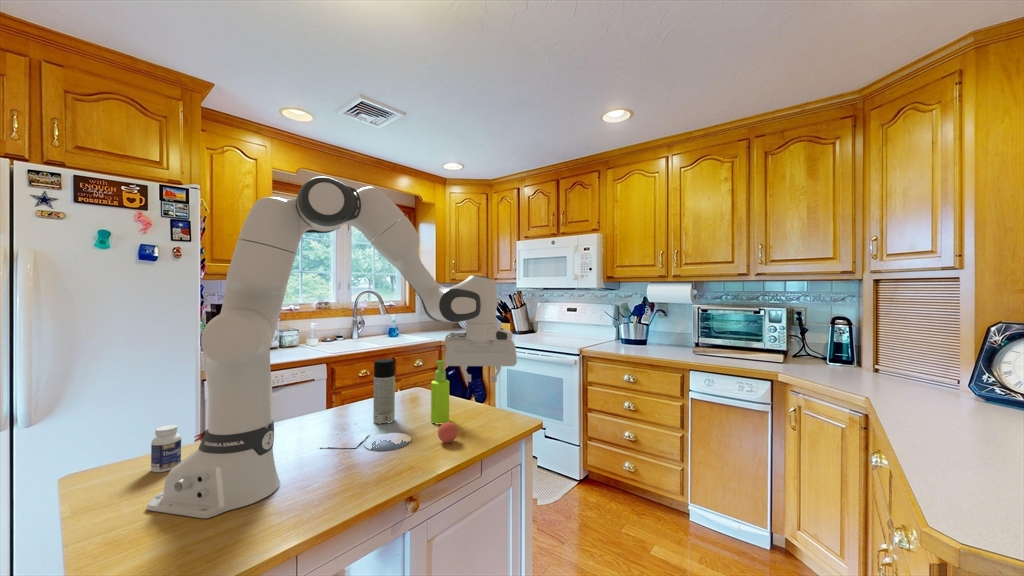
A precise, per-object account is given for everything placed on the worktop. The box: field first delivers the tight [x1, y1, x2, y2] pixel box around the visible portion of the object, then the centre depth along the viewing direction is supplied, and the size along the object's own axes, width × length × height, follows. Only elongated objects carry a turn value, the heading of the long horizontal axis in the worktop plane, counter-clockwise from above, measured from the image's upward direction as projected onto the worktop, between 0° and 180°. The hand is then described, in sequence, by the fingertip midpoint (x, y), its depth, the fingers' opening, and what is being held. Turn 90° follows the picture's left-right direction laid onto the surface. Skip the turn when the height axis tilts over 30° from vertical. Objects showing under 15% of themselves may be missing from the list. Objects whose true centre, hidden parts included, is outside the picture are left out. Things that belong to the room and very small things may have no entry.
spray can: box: [372, 358, 396, 424], centre depth 126 cm, size 7×7×20 cm
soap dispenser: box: [430, 359, 450, 423], centre depth 126 cm, size 6×7×20 cm
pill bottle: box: [150, 424, 182, 473], centre depth 92 cm, size 5×5×10 cm
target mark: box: [370, 438, 413, 452], centre depth 109 cm, size 13×13×1 cm
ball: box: [437, 421, 458, 444], centre depth 109 cm, size 6×6×6 cm
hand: (481, 381), depth 109 cm, fingers open, 6 cm apart
